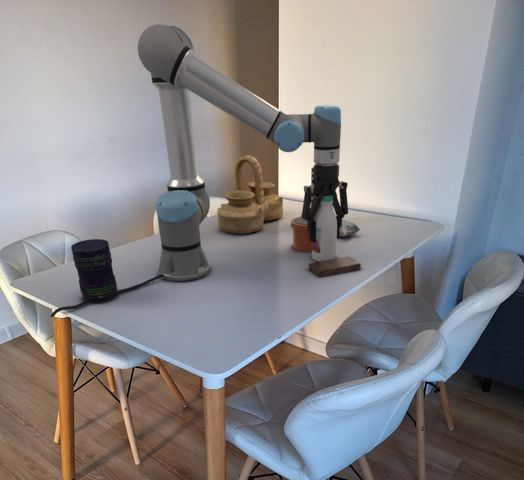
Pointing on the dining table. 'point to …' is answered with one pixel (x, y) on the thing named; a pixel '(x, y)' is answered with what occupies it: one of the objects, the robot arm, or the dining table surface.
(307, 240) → the flower pot
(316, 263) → the walnut board
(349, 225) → the packaged food
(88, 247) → the storage jar
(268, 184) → the ceramic vessel
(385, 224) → the dining table surface
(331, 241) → the milk bottle
